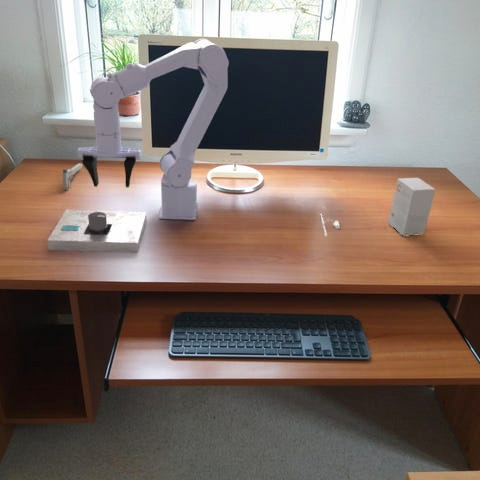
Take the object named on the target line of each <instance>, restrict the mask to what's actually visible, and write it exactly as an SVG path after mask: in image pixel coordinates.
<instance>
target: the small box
mask: <svg viewBox="0 0 480 480" xmlns="http://www.w3.org/2000/svg"><path fill="white" fill-rule="evenodd" d="M435 193H436V188H434V187H433V186H431V185H430V184H428V183H427V182H426V181H424V180H423V179H421V178H419V177H406V178H403V177H402V178H399V177H398V178H397V181H396V186H395V190H394V194H393V199H392V204H391V208H390V212H389V217H388V221H387V224H388V223H389V224H388V225H390V226H391V227H392V228H393V227H394V228H395V229H396V230H397V231H398V232H399V233H398V232H397V231H396V230H395V229H394V228H393V229H394V230H395V231H396V232H397V233H398V234H400V235H401V234H402V235H403V236H406V235H415V234H424V235H425V232H426V229H427V225H428V221H429V216H430V212H431V209H432V205H433V202H434V198H435V197H434V196H435ZM402 235H401V236H402ZM403 236H402V237H403ZM406 237H407V236H406Z"/></svg>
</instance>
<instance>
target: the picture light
mask: <svg viewBox="0 0 480 480" xmlns="http://www.w3.org/2000/svg"><path fill="white" fill-rule="evenodd" d="M320 215H321V217H320V221H322V222H321V226H322V229H323V233H324V234H323V235H324V237H326V238H327V237H328V233H327V230H326V229H327V228H326V225H325V223H327V221H328V222H329V221H330V222H332V225H333V227H335V229H337V230H339V229H340V228H341V227H340V223H339V220H335V221H334V220H333V219H332V218H330V219H328V218H326V219H325V220H324V216H323V214H322V213H321V214H320V213H319V216H320ZM322 216H323V217H322Z"/></svg>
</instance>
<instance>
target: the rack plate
mask: <svg viewBox="0 0 480 480" xmlns="http://www.w3.org/2000/svg"><path fill="white" fill-rule="evenodd" d="M93 212H103V213H105V214H106V221H107V233H108V235H90V229H89V219H88V215H89V214H91V213H93ZM58 220H59V221H58V222H57V223H56V225H55V227H54V229H53V230H52V232H51V234H49V237H48V238H47V240H46V241H47V247H48V250H49V251H78V252H81V251H82V252H105V253H106V252H107V253H108V252H109V253H111V252H112V253H117V252H119V253H139V250H140V246H141V243H142V240H143V235H144V233H145V228H146V224H147V222H148V221H147V212H146V211H129V210H128V211H126V210H121V211H120V210H99V209H97V210H94V209H93V210H92V209H68V208H66V209H65V211H64V212H63V213H62V216H61V218H60V219H58Z"/></svg>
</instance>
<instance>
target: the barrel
mask: <svg viewBox="0 0 480 480" xmlns="http://www.w3.org/2000/svg"><path fill="white" fill-rule="evenodd" d="M88 219H89V229H90V233H89V235H108V234H109V233H107V221H106V214H105V213H103V212H93V213H91V214H89V215H88Z"/></svg>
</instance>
